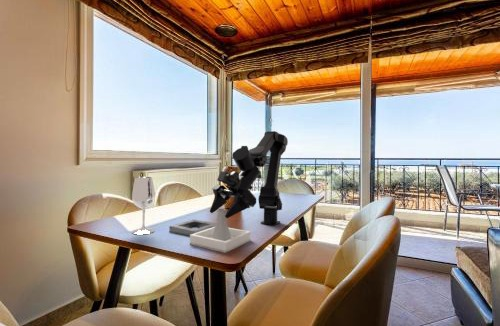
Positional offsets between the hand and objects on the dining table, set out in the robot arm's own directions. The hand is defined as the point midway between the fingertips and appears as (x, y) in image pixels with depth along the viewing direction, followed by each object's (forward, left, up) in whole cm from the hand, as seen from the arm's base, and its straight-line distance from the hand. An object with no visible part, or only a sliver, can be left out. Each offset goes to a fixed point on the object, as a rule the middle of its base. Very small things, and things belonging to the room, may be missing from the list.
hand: (217, 214), depth 84 cm
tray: (-1, 0, -9) cm, 9 cm away
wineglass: (+5, -31, -9) cm, 32 cm away
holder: (-7, -17, -9) cm, 20 cm away
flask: (-1, 0, -9) cm, 9 cm away
